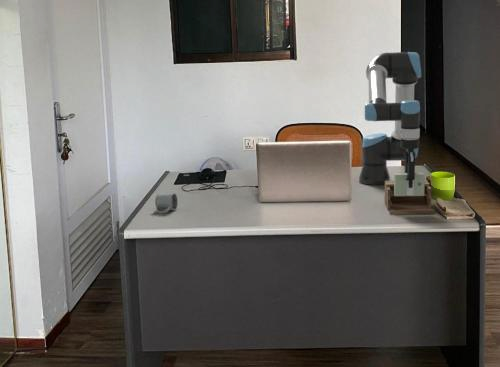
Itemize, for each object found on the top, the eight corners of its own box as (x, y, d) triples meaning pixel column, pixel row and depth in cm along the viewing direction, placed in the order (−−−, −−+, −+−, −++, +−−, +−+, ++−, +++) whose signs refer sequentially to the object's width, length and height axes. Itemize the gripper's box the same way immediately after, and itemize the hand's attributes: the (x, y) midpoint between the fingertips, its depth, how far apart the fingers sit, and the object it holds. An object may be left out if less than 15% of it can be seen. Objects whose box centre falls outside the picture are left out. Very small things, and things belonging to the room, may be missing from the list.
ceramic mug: (161, 207, 343) (159, 190, 341) (178, 208, 341) (177, 191, 339) (152, 214, 333) (150, 196, 331) (169, 214, 331) (168, 197, 329)
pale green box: (394, 194, 322) (394, 173, 320) (423, 193, 321) (423, 172, 319) (395, 196, 318) (395, 175, 316) (424, 195, 318) (424, 174, 316)
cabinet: (384, 203, 337) (384, 180, 334) (426, 202, 335) (426, 180, 333) (389, 214, 319) (389, 190, 316) (433, 213, 317) (434, 189, 315)
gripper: (398, 135, 323) (397, 189, 328) (403, 141, 307) (402, 198, 312) (416, 134, 322) (415, 189, 328) (422, 141, 307) (421, 198, 312)
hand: (409, 193), depth 320 cm, fingers closed on pale green box, 3 cm apart
